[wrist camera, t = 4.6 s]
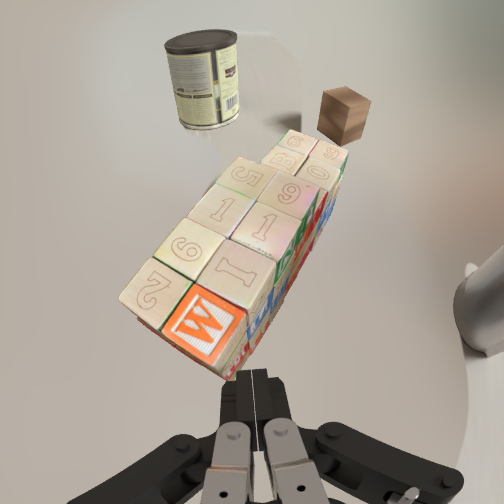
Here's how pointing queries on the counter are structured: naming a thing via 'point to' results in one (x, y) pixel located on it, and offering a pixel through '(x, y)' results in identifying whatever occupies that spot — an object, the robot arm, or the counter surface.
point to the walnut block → (343, 115)
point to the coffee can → (204, 77)
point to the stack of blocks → (238, 253)
